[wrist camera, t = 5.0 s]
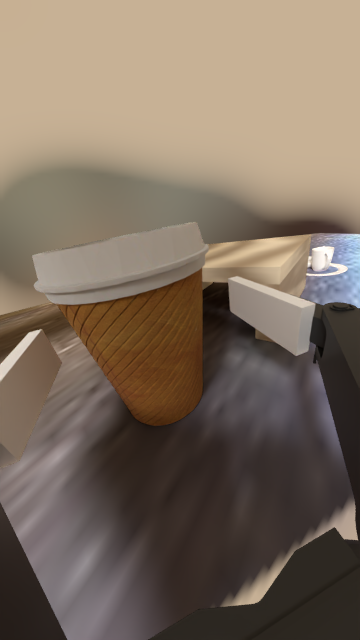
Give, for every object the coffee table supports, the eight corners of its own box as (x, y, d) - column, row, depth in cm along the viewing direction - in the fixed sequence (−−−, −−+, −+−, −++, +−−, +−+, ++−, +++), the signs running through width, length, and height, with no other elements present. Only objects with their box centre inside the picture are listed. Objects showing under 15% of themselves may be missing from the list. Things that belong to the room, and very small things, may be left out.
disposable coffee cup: (177, 343, 22) (152, 229, 16) (250, 389, 15) (246, 211, 9) (94, 391, 17) (23, 256, 12) (138, 490, 10) (8, 263, 5)
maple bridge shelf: (151, 316, 30) (137, 268, 27) (204, 282, 40) (199, 245, 37) (276, 342, 19) (280, 266, 16) (305, 287, 29) (311, 234, 26)
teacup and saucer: (295, 265, 41) (297, 245, 39) (343, 263, 37) (348, 241, 35) (292, 278, 35) (294, 255, 33) (350, 278, 30) (356, 251, 29)
